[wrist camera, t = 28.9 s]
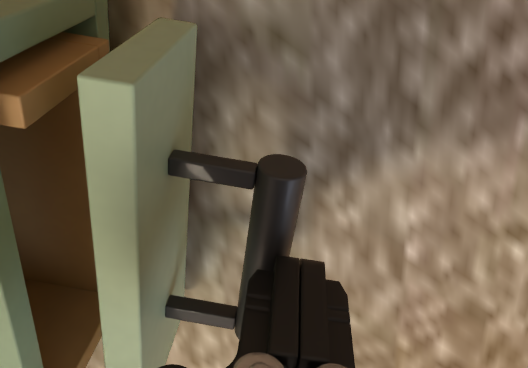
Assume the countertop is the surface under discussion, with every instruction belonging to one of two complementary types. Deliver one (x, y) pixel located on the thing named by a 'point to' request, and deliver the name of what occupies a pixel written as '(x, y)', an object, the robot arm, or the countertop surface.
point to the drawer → (121, 193)
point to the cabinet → (3, 238)
